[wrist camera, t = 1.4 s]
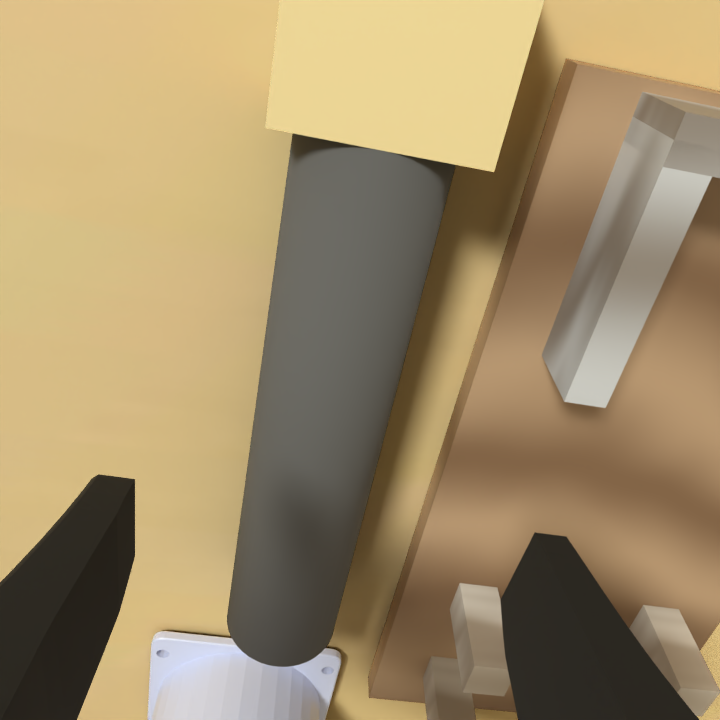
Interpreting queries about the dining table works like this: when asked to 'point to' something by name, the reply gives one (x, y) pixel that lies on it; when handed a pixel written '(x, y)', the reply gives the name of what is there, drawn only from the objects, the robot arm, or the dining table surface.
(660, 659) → the board
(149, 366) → the dining table surface
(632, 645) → the robot arm
